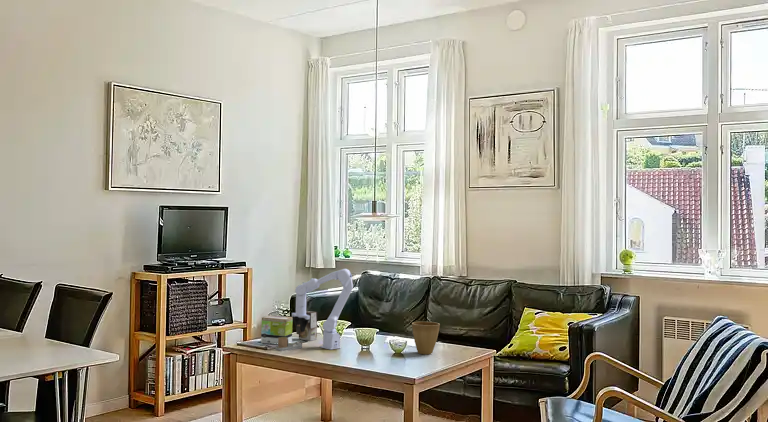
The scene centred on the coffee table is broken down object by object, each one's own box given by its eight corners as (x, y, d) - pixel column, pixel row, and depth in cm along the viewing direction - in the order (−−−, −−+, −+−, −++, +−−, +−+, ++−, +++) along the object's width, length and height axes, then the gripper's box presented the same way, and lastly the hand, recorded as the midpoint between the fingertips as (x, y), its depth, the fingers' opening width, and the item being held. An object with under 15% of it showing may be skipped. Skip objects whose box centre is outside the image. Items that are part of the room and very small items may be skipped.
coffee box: (317, 339, 408) (317, 311, 408) (310, 341, 403) (311, 313, 403) (305, 337, 413) (305, 310, 413) (298, 339, 408) (298, 311, 408)
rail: (302, 348, 380) (302, 336, 380) (280, 351, 370) (280, 338, 370) (296, 346, 384) (296, 334, 384) (275, 349, 374) (275, 337, 374)
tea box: (260, 343, 392) (261, 317, 392) (268, 340, 401) (269, 314, 401) (284, 345, 387) (285, 318, 387) (292, 342, 397) (293, 316, 397)
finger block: (304, 334, 385) (305, 325, 385) (299, 335, 382) (299, 325, 383) (301, 333, 387) (301, 324, 387) (295, 334, 385) (296, 325, 385)
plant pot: (437, 356, 364) (438, 326, 364) (409, 355, 367) (409, 324, 367) (440, 351, 379) (441, 322, 379) (413, 349, 382) (414, 320, 382)
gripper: (287, 305, 388) (286, 329, 388) (302, 308, 377) (302, 333, 377) (298, 304, 393) (297, 328, 392) (313, 307, 382) (312, 332, 382)
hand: (300, 331), depth 385 cm, fingers closed on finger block, 3 cm apart
